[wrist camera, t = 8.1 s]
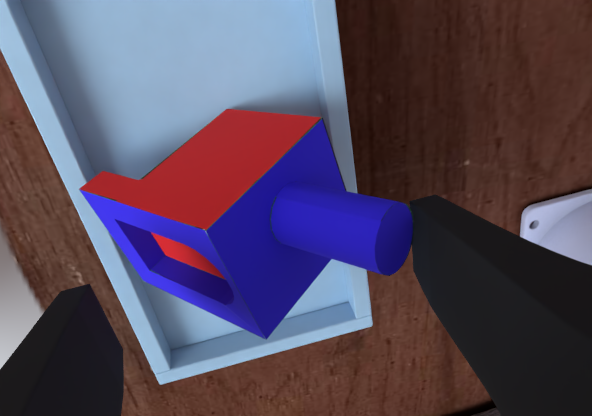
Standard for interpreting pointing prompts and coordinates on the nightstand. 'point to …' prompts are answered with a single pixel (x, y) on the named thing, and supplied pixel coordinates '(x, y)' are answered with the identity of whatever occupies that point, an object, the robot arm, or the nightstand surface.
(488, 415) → the picture frame
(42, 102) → the stand
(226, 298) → the toy building block
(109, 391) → the robot arm
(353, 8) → the nightstand surface
